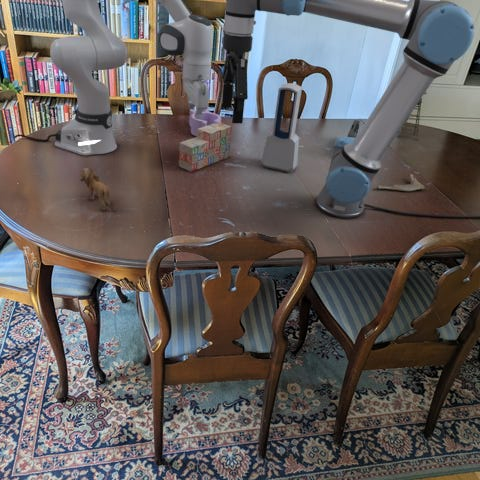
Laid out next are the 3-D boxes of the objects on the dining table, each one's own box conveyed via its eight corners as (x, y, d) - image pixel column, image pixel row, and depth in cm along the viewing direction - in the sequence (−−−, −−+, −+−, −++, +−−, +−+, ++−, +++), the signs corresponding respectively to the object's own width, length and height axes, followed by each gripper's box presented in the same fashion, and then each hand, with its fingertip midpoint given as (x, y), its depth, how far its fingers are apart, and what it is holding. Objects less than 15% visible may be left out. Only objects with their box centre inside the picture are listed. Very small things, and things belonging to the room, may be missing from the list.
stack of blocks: (191, 172, 165) (192, 139, 158) (178, 166, 168) (179, 134, 161) (229, 157, 179) (232, 126, 173) (217, 152, 182) (219, 121, 176)
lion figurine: (77, 195, 143) (74, 168, 138) (92, 190, 146) (90, 163, 142) (107, 213, 136) (105, 185, 131) (122, 207, 139) (120, 180, 134)
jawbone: (429, 189, 172) (431, 184, 171) (394, 201, 161) (396, 196, 160) (410, 177, 177) (412, 172, 176) (375, 189, 167) (376, 184, 165)
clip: (182, 123, 206) (183, 107, 202) (209, 122, 210) (210, 106, 207) (197, 140, 191) (197, 123, 187) (225, 138, 195) (226, 122, 191)
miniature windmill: (417, 139, 216) (437, 73, 200) (398, 137, 217) (417, 70, 201) (414, 133, 223) (434, 68, 207) (397, 130, 224) (415, 66, 208)
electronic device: (296, 166, 177) (310, 86, 161) (292, 174, 171) (306, 91, 154) (265, 160, 180) (276, 80, 163) (259, 167, 174) (270, 85, 157)
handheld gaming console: (349, 160, 187) (354, 136, 182) (342, 158, 188) (347, 134, 183) (355, 142, 206) (361, 119, 201) (349, 140, 207) (354, 118, 201)
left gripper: (215, 81, 143) (211, 124, 151) (198, 63, 159) (196, 103, 166) (195, 81, 141) (192, 125, 149) (180, 62, 157) (178, 103, 164)
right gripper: (265, 44, 111) (256, 130, 123) (241, 26, 131) (234, 101, 143) (235, 43, 109) (228, 130, 121) (214, 24, 129) (210, 100, 141)
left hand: (194, 113), depth 158 cm, fingers open, 8 cm apart
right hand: (231, 114), depth 132 cm, fingers open, 13 cm apart
